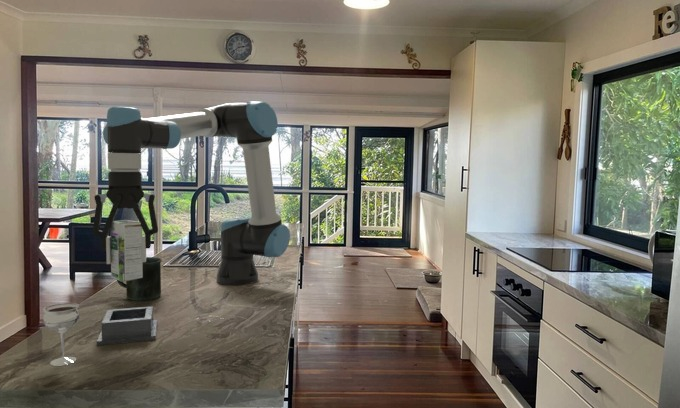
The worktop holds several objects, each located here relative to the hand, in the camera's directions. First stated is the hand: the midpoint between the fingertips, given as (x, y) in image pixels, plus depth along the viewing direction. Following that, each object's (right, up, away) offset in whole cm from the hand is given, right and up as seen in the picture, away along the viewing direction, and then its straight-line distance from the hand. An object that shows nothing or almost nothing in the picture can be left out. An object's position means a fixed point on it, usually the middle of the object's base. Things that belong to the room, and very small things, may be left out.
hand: (126, 262), depth 119 cm
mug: (-12, -16, +35) cm, 40 cm away
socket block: (0, -18, +2) cm, 18 cm away
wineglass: (-7, -20, -15) cm, 26 cm away
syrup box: (0, -4, 0) cm, 4 cm away
